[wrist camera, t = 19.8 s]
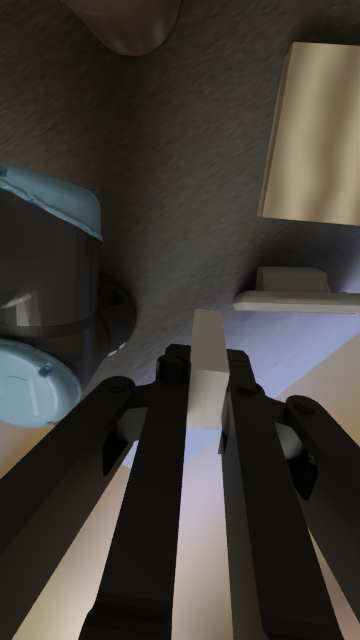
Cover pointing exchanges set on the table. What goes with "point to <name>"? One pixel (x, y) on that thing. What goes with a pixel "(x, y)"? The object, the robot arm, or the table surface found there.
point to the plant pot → (128, 22)
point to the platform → (315, 137)
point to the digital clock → (295, 293)
